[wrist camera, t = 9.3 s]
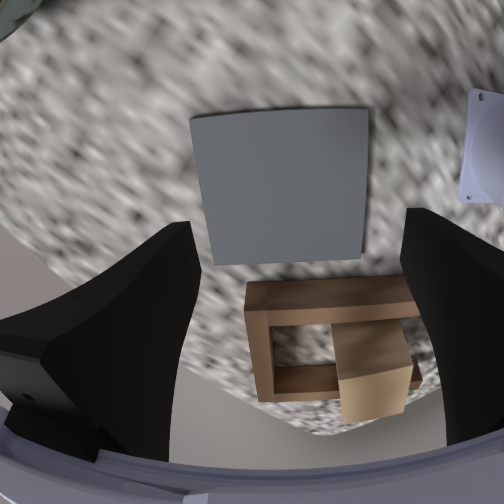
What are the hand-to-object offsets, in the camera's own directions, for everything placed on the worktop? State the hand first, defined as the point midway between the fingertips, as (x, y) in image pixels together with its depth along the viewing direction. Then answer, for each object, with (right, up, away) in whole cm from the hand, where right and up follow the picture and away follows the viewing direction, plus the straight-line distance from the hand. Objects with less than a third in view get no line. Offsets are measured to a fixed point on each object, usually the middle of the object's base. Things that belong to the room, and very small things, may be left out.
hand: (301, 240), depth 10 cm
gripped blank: (+8, -7, +15) cm, 19 cm away
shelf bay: (+7, -7, +16) cm, 18 cm away
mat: (0, +3, +9) cm, 10 cm away
